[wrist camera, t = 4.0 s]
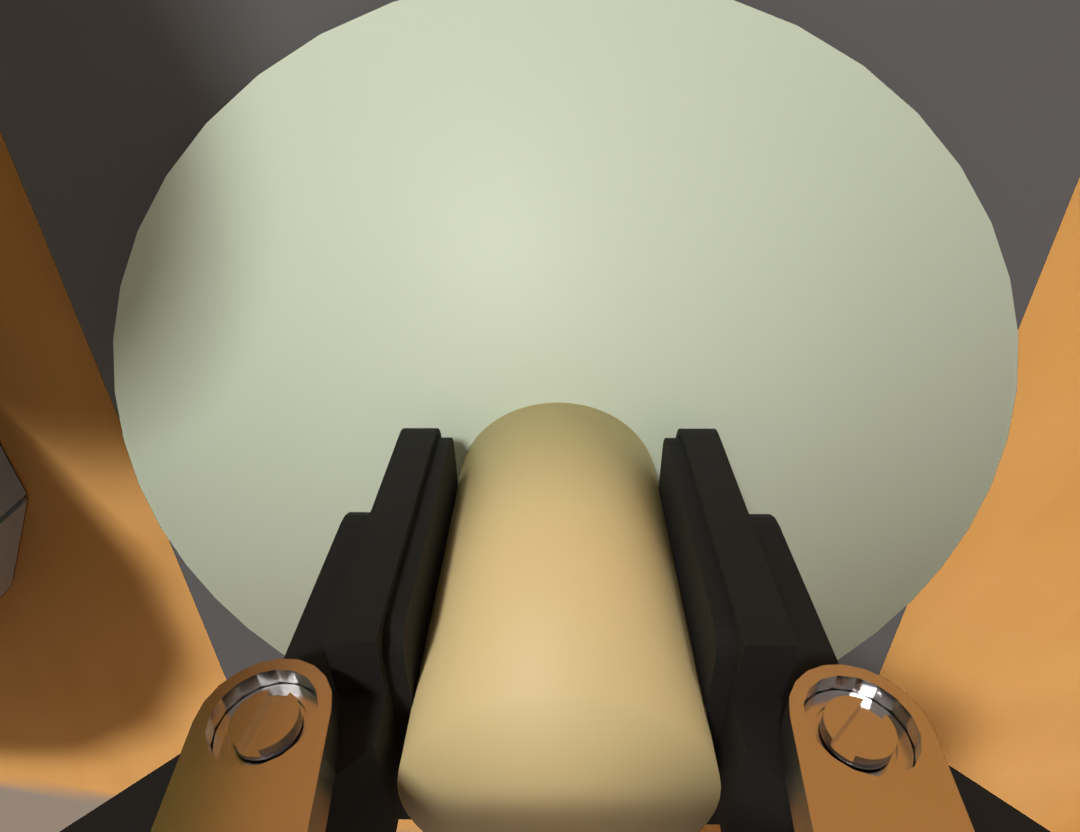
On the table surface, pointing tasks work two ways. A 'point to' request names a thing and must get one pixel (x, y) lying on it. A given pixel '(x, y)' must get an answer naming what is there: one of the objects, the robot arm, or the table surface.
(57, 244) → the mat
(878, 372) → the lid
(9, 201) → the table surface
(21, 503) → the bowl
